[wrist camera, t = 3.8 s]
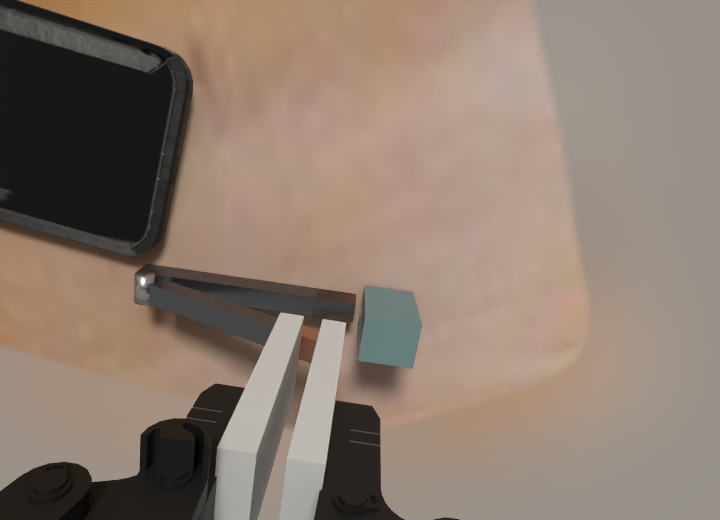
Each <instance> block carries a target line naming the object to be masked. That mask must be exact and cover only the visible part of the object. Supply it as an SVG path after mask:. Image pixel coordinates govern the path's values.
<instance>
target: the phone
mask: <svg viewBox="0 0 720 520" xmlns="http://www.w3.org/2000/svg"><path fill="white" fill-rule="evenodd" d="M192 91H193V79H192V75H191V72H190V69H189V67H188V66H187V64H186V62H185V61H184V60H183V59H182V58H181V57H180V56H179V55H178V54H177V53H175V52H173V51H171V50H169V49H167V48H165V47H162V46H159V45H155V44H152V43H149V42H146V41H143V40H140V39H137V38H134V37H131V36H127V35H124V34H121V33H118V32H115V31H112V30H109V29H106V28H103V27H99V26H96V25H93V24H90V23H87V22H84V21H81V20H78V19H75V18H71V17H68V16H65V15H62V14H59V13H56V12H53V11H50V10H47V9H43V8H40V7H37V6H34V5H31V4H28V3H25V2H22V1H19V0H0V220H3V221H6V222H10V223H13V224H17V225H21V226H24V227H28V228H31V229H35V230H38V231H42V232H45V233H49V234H52V235H56V236H59V237H63V238H66V239H70V240H73V241H77V242H80V243H84V244H87V245H91V246H94V247H98V248H101V249H105V250H108V251H112V252H115V253H119V254H123V255H130V256H133V255H139V254H142V253H144V252H146V251H147V250H149V249H151V248H152V247H153V246H155V245H156V244H157V243H158V242H159V241H160V240H161V239H162V237H163V234H164V232H165V228H166V223H167V218H168V213H169V208H170V203H171V198H172V193H173V188H174V183H175V177H176V172H177V167H178V162H179V157H180V152H181V147H182V142H183V137H184V132H185V127H186V122H187V117H188V112H189V106H190V101H191V96H192ZM165 216H166V218H165ZM164 218H165V219H164Z"/></svg>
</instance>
